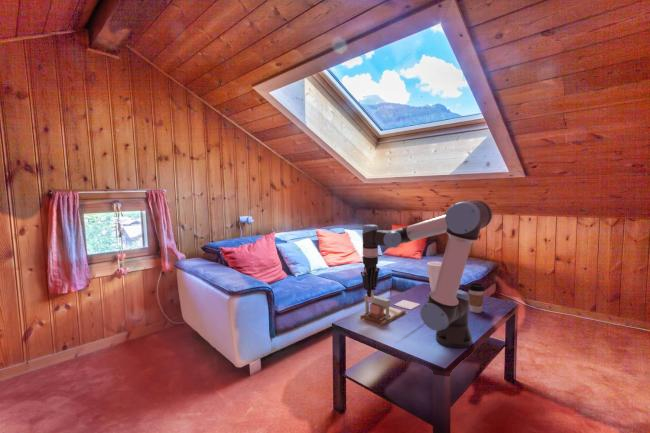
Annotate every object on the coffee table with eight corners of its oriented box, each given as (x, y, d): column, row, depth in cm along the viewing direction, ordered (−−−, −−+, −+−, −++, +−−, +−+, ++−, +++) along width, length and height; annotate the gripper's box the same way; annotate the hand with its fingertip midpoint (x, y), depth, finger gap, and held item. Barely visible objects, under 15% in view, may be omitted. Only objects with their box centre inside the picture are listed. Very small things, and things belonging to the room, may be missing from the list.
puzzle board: (380, 330, 158) (380, 323, 158) (357, 322, 168) (357, 315, 167) (408, 314, 176) (408, 308, 176) (386, 308, 186) (386, 302, 186)
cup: (434, 293, 211) (434, 260, 209) (449, 297, 202) (450, 263, 200) (422, 296, 205) (423, 263, 203) (438, 301, 195) (438, 266, 193)
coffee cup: (465, 311, 180) (465, 284, 179) (470, 306, 186) (471, 281, 185) (481, 315, 175) (481, 287, 173) (486, 310, 181) (486, 284, 179)
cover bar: (386, 320, 162) (386, 301, 161) (364, 313, 171) (364, 295, 171) (390, 318, 164) (390, 299, 163) (367, 311, 174) (367, 293, 173)
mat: (410, 310, 183) (410, 309, 183) (393, 305, 191) (393, 304, 191) (420, 304, 191) (420, 304, 191) (403, 300, 199) (403, 299, 199)
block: (378, 321, 164) (378, 306, 164) (370, 319, 168) (370, 304, 167) (383, 318, 168) (383, 303, 167) (375, 316, 171) (375, 301, 171)
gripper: (371, 253, 168) (372, 297, 170) (356, 257, 159) (356, 304, 161) (384, 254, 163) (384, 300, 165) (368, 259, 153) (368, 307, 156)
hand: (370, 302), depth 163 cm, fingers closed
